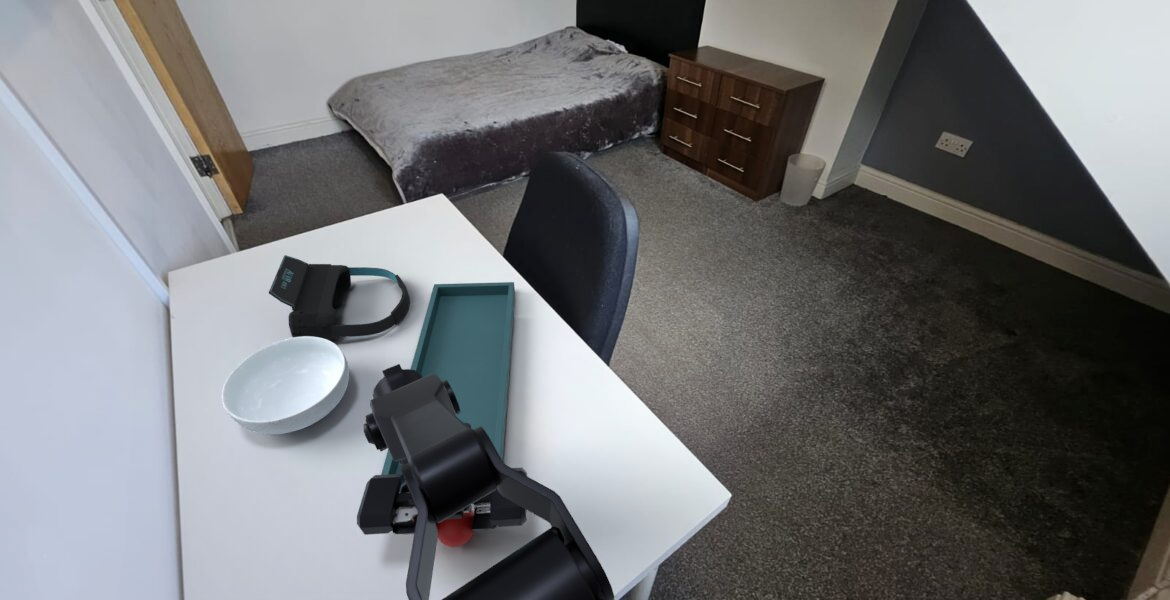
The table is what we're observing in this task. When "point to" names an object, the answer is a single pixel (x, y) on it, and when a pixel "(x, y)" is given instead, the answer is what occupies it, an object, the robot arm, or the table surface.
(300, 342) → the cereal bowl
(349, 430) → the table surface
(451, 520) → the apple
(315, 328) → the virtual reality headset
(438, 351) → the tray
